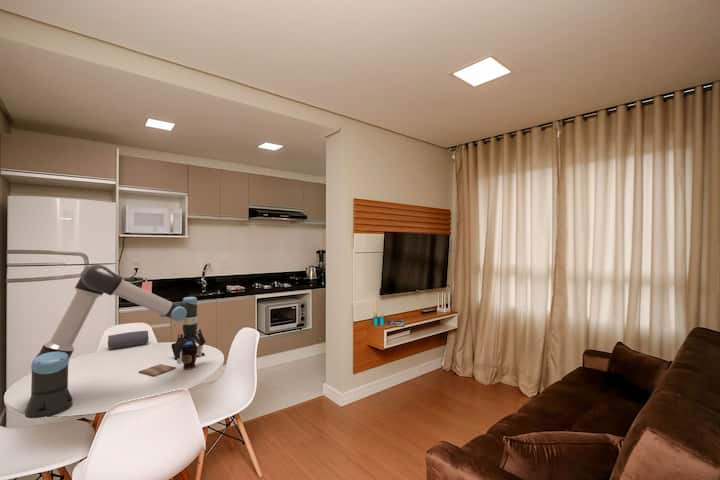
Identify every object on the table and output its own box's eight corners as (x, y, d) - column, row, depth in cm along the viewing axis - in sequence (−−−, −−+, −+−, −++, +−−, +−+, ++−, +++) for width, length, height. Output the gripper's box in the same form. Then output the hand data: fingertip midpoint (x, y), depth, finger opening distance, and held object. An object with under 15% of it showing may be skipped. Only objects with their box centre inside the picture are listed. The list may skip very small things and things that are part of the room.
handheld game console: (182, 362, 203) (183, 347, 203) (170, 358, 209) (170, 344, 210) (205, 355, 216) (206, 341, 216) (193, 352, 223) (193, 338, 223)
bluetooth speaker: (146, 342, 243) (146, 328, 243) (148, 345, 236) (148, 331, 236) (107, 348, 228) (108, 333, 228) (108, 351, 221) (108, 336, 221)
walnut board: (154, 376, 180) (154, 375, 180) (138, 372, 185) (138, 371, 185) (175, 368, 192) (175, 367, 192) (160, 365, 197) (160, 363, 197)
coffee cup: (190, 370, 189) (190, 348, 189) (177, 369, 191) (177, 347, 191) (200, 365, 198) (200, 343, 198) (188, 364, 199) (188, 342, 199)
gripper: (175, 329, 182) (174, 368, 181) (211, 319, 204) (211, 354, 204) (165, 327, 185) (165, 366, 184) (203, 318, 207) (202, 352, 207)
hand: (189, 359), depth 194 cm, fingers open, 13 cm apart
